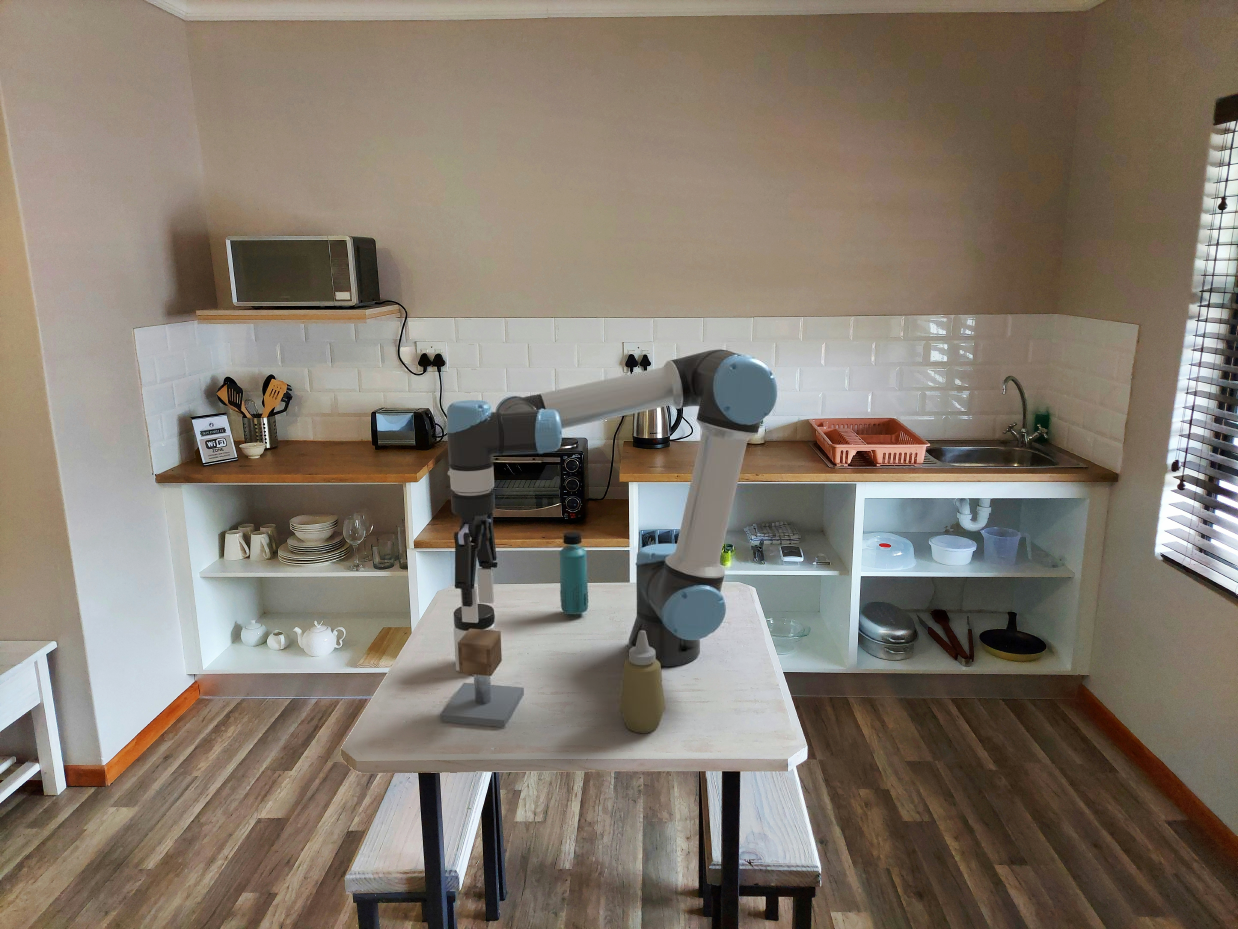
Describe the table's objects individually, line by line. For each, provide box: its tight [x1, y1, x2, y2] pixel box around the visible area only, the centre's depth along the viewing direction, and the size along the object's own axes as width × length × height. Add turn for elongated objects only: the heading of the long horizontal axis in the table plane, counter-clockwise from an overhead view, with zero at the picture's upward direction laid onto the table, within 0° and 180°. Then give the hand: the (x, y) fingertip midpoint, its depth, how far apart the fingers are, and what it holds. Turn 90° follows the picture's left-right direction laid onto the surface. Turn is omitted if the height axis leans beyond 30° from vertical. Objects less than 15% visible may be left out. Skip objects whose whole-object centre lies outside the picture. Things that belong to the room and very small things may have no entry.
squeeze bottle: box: [619, 630, 666, 734], centre depth 152 cm, size 8×8×18 cm
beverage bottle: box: [559, 531, 590, 615], centre depth 198 cm, size 6×7×20 cm
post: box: [473, 675, 492, 705], centre depth 158 cm, size 3×3×12 cm
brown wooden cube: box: [458, 629, 503, 677], centre depth 157 cm, size 6×6×6 cm
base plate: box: [439, 682, 525, 728], centre depth 160 cm, size 12×12×2 cm
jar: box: [453, 603, 496, 676], centre depth 175 cm, size 9×8×12 cm
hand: (478, 611), depth 155 cm, fingers open, 8 cm apart
